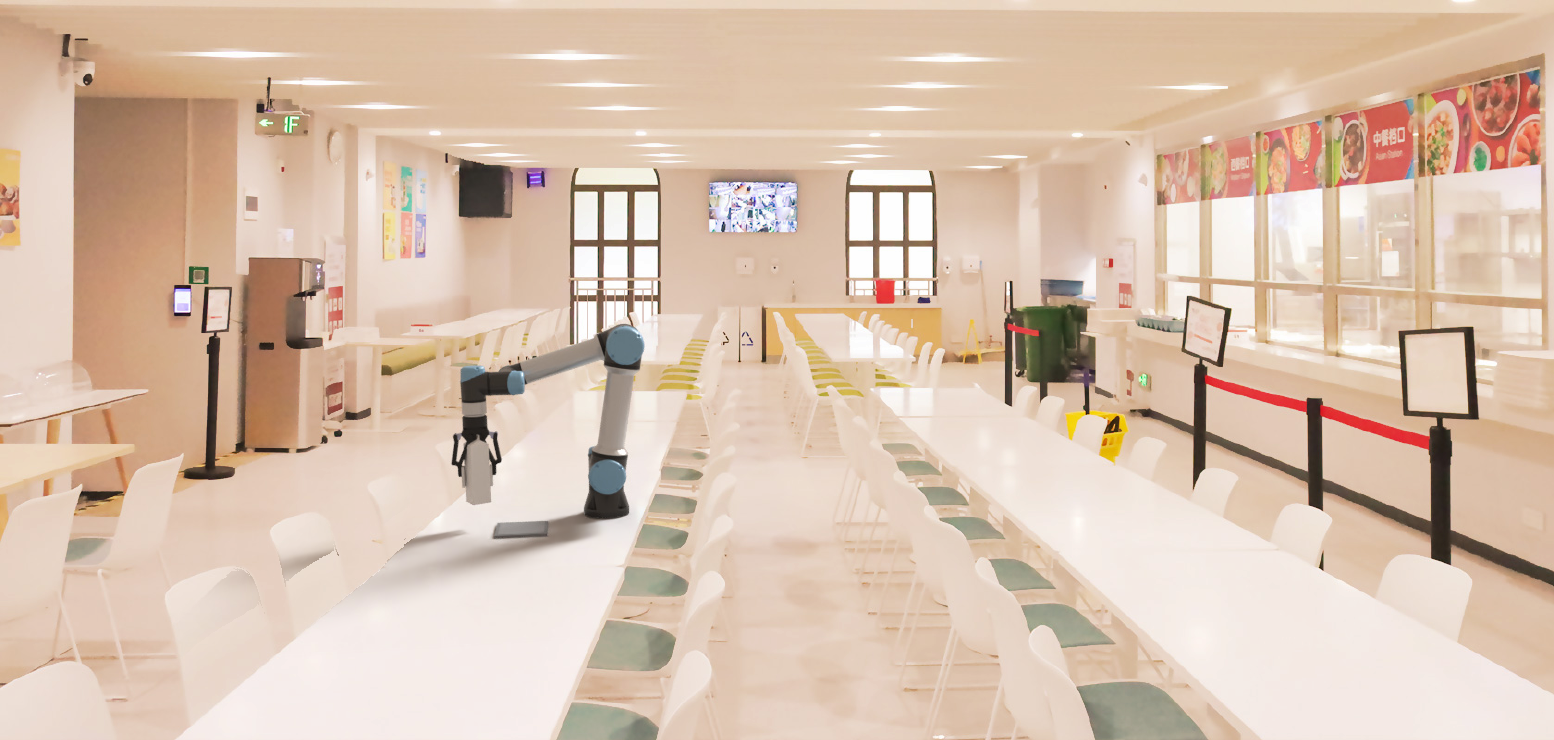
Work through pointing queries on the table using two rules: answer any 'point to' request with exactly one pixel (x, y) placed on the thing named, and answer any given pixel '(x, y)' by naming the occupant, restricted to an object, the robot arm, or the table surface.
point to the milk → (477, 473)
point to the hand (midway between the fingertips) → (478, 485)
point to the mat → (521, 529)
